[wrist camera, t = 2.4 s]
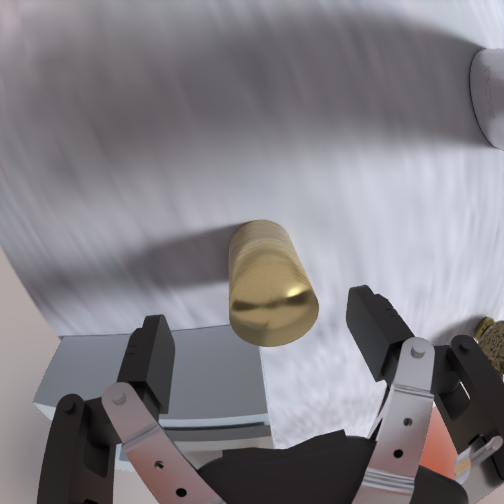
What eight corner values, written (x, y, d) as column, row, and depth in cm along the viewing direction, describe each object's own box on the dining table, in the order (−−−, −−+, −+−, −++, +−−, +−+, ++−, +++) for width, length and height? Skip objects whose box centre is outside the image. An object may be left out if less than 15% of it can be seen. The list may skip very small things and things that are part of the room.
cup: (457, 336, 25) (489, 381, 18) (496, 294, 23) (533, 333, 16) (467, 352, 28) (493, 391, 21) (501, 317, 26) (530, 352, 19)
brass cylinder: (288, 215, 17) (319, 271, 11) (292, 271, 19) (317, 339, 13) (223, 225, 17) (221, 286, 11) (234, 279, 19) (237, 352, 13)
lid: (270, 424, 14) (279, 489, 10) (279, 472, 19) (284, 510, 15) (142, 429, 14) (134, 487, 10) (195, 477, 19) (195, 513, 15)
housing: (255, 321, 20) (268, 412, 13) (270, 409, 27) (279, 471, 20) (64, 336, 20) (32, 402, 13) (124, 414, 27) (113, 468, 20)
